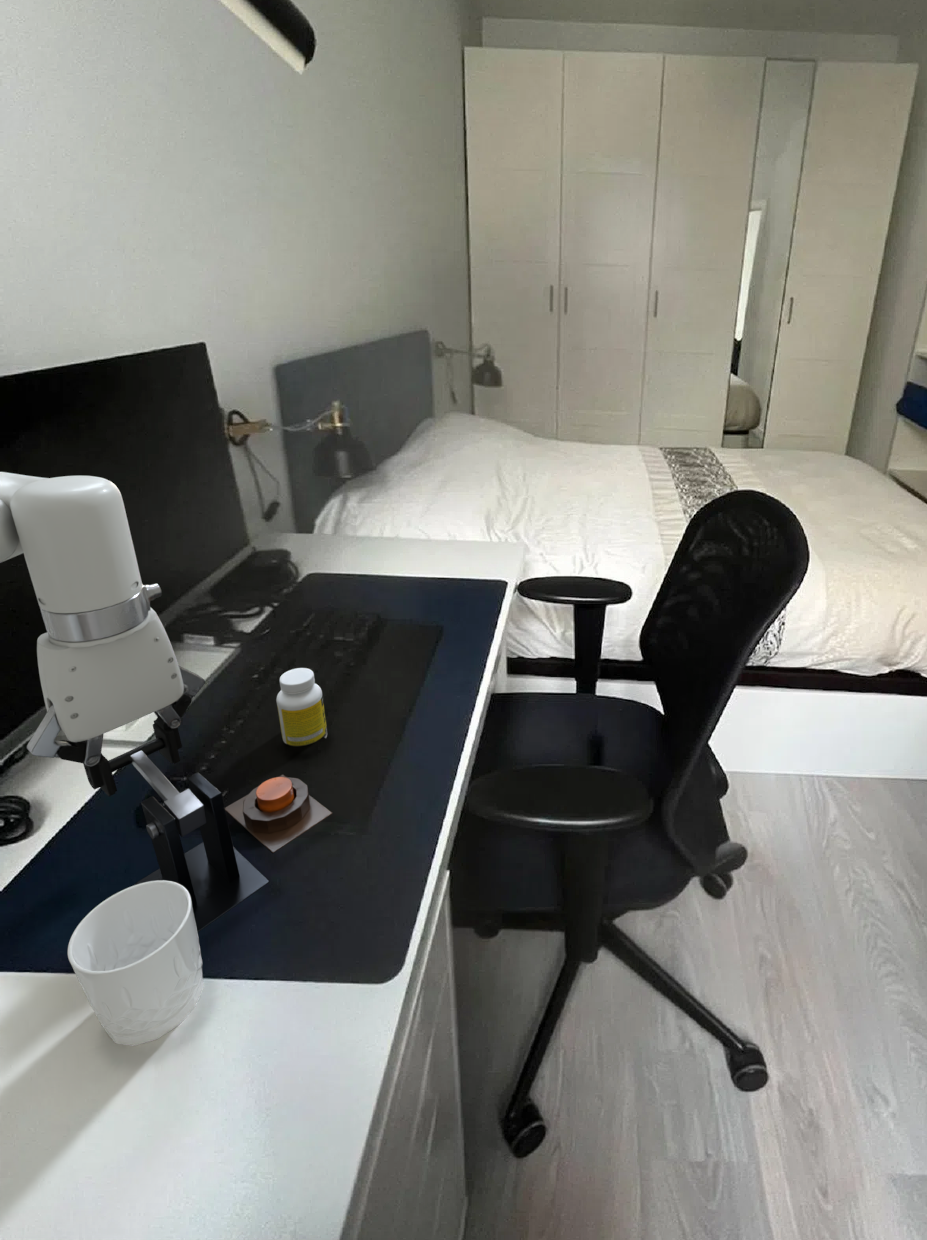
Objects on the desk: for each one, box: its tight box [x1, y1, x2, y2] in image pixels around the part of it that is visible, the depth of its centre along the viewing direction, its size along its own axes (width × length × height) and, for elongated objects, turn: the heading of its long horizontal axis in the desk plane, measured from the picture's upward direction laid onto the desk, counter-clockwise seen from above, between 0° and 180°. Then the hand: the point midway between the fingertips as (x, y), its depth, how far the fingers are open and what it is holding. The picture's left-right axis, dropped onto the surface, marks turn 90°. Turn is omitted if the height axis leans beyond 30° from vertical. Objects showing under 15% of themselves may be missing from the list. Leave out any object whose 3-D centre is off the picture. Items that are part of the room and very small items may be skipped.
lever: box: [108, 737, 206, 838], centre depth 62 cm, size 12×5×2 cm, turn 54°
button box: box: [224, 774, 333, 854], centre depth 72 cm, size 10×7×3 cm
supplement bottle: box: [275, 667, 328, 747], centre depth 83 cm, size 5×5×10 cm
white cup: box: [67, 880, 205, 1047], centre depth 52 cm, size 8×8×10 cm
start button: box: [256, 776, 294, 813], centre depth 71 cm, size 4×4×2 cm
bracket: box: [135, 772, 271, 933], centre depth 62 cm, size 10×8×12 cm
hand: (139, 771), depth 66 cm, fingers closed on lever, 5 cm apart
